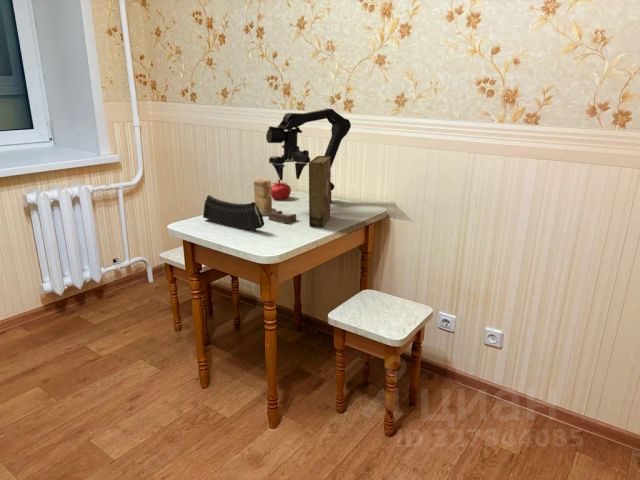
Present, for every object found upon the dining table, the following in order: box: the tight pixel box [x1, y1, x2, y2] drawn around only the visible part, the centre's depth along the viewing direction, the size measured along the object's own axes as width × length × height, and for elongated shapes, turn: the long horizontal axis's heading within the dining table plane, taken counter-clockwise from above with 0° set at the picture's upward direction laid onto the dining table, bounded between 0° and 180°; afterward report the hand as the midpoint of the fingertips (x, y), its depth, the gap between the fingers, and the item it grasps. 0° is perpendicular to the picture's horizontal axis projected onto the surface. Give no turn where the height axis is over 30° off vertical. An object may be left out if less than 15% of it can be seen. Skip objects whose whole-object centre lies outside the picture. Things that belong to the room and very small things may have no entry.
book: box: [308, 155, 332, 228], centre depth 187 cm, size 16×6×25 cm, turn 168°
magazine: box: [202, 195, 265, 232], centre depth 185 cm, size 17×3×30 cm
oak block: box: [253, 178, 273, 213], centre depth 202 cm, size 5×5×13 cm
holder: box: [268, 210, 297, 225], centre depth 193 cm, size 7×9×3 cm
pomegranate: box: [271, 179, 292, 201], centre depth 227 cm, size 10×10×9 cm
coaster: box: [260, 207, 277, 217], centre depth 204 cm, size 11×11×1 cm
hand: (289, 179), depth 209 cm, fingers open, 9 cm apart
